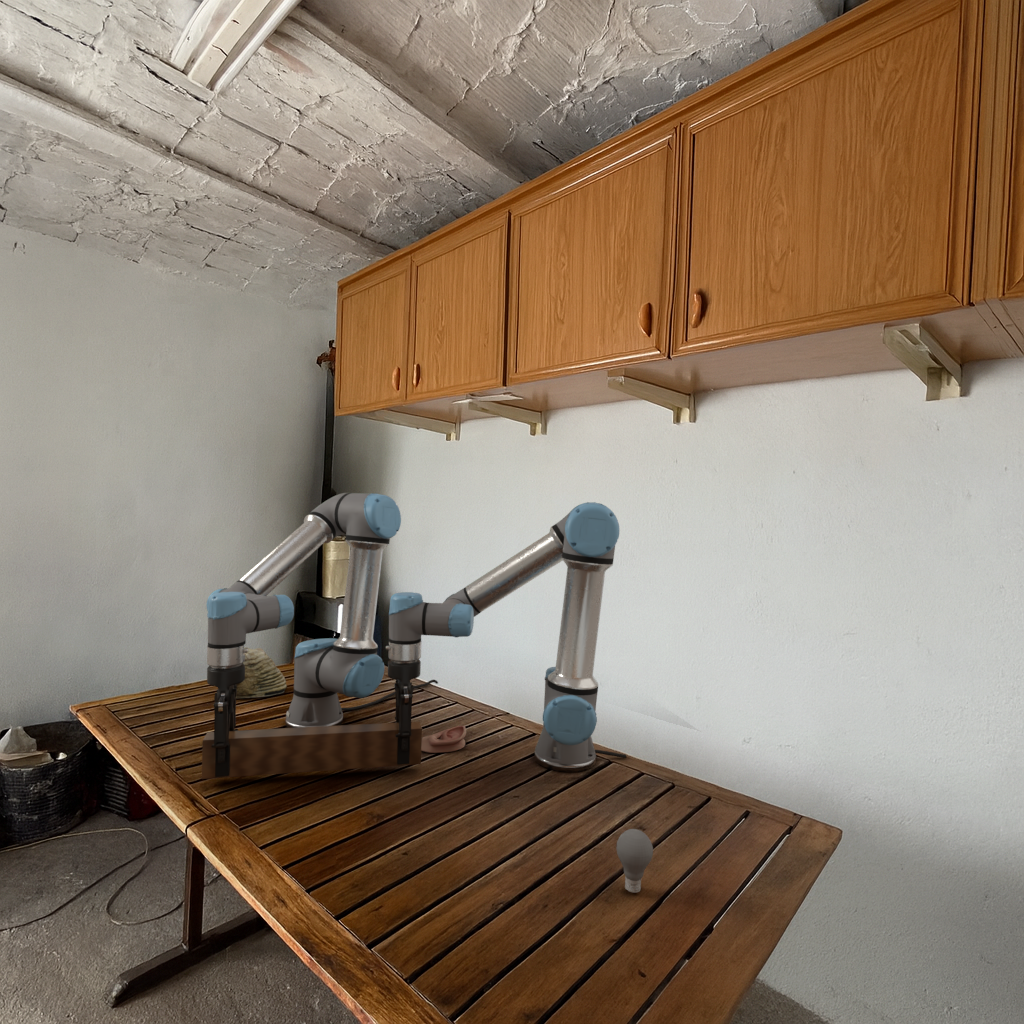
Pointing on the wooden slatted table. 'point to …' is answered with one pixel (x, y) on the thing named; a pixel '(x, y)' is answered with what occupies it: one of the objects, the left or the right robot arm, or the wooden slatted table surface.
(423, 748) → the anatomical model
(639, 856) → the light bulb
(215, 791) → the wooden slatted table surface
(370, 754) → the plank
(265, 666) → the fossil
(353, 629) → the left robot arm
